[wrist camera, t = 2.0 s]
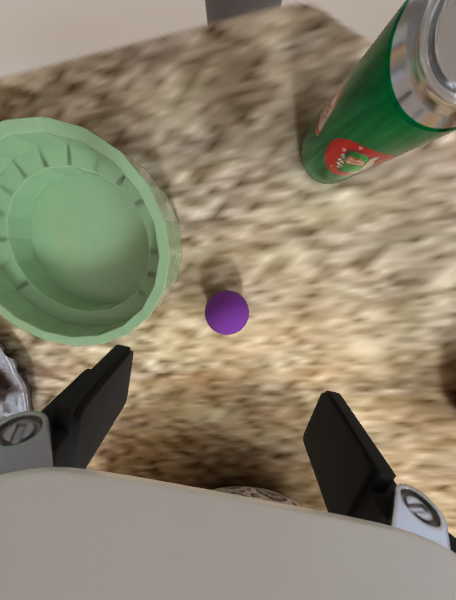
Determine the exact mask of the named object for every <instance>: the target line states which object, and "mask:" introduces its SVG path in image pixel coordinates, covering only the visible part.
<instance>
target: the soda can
mask: <svg viewBox="0 0 456 600" xmlns="http://www.w3.org/2000/svg"><path fill="white" fill-rule="evenodd" d="M455 130H456V0H406V1H405V2H404V4H403V5H402V6H401V8H400V9H399V10H398V11H397V13H396V14H395V16H394V17H393V18H392V19H391V21H390V22H389V23H388V25H387V26H386V27H385V28H384V30H383V31H382V32H381V34H380V35H379V36H378V38H377V39H376V40H375V42H374V43H373V44H372V45H371V47H370V48H369V49H368V51H367V52H366V53H365V55H364V56H363V57H362V59H361V60H360V61H359V62H358V64H357V65H356V66H355V68H354V69H353V70H352V72H351V73H350V74H349V76H348V77H347V78H346V80H345V81H344V82H343V83H342V85H341V86H340V87H339V89H338V90H337V91H336V93H335V94H334V95H333V97H332V98H331V99H330V100H329V102H328V103H327V104H326V106H325V107H324V108H323V110H322V111H321V112H320V114H319V115H318V116H317V117H316V119H315V120H314V121H313V123H312V124H311V125H310V127H309V128H308V130H307V131H306V133H305V136H304V138H303V142H302V147H301V157H302V162H303V166H304V168H305V170H306V172H307V173H308V174H309V175H310V176H311V177H312V178H313V179H314V180H316V181H318V182H320V183H324V184H334V183H338V182H341V181H343V180H345V179H347V178H350V177H352V176H354V175H356V174H359V173H361V172H363V171H365V170H368V169H370V168H372V167H374V166H377V165H379V164H381V163H383V162H386V161H388V160H390V159H392V158H395V157H397V156H399V155H401V154H404V153H406V152H408V151H410V150H413V149H415V148H417V147H419V146H422V145H424V144H426V143H428V142H431V141H433V140H435V139H437V138H440V137H442V136H444V135H446V134H449V133H451V132H453V131H455Z"/></svg>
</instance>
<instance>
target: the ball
mask: <svg viewBox="0 0 456 600" xmlns="http://www.w3.org/2000/svg"><path fill="white" fill-rule="evenodd" d="M205 317H206V321H207V323H208V325H209V326H210V327H211V328H212V329H213V330H214V331H216V332H218V333H220V334H225V335H229V334H234V333H236V332H238V331H240V330H241V329H242V328H243V327H244V326H245V324H246V323H247V320H248V317H249V308H248V305H247V303H246V301H245V299H244V298H243V297H242V296H241V295H239V294H238V293H236V292H233V291H221V292H218V293H216V294H215V295H213V296H212V297H211V298H210V299H209V301H208V302H207V305H206V308H205Z"/></svg>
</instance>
